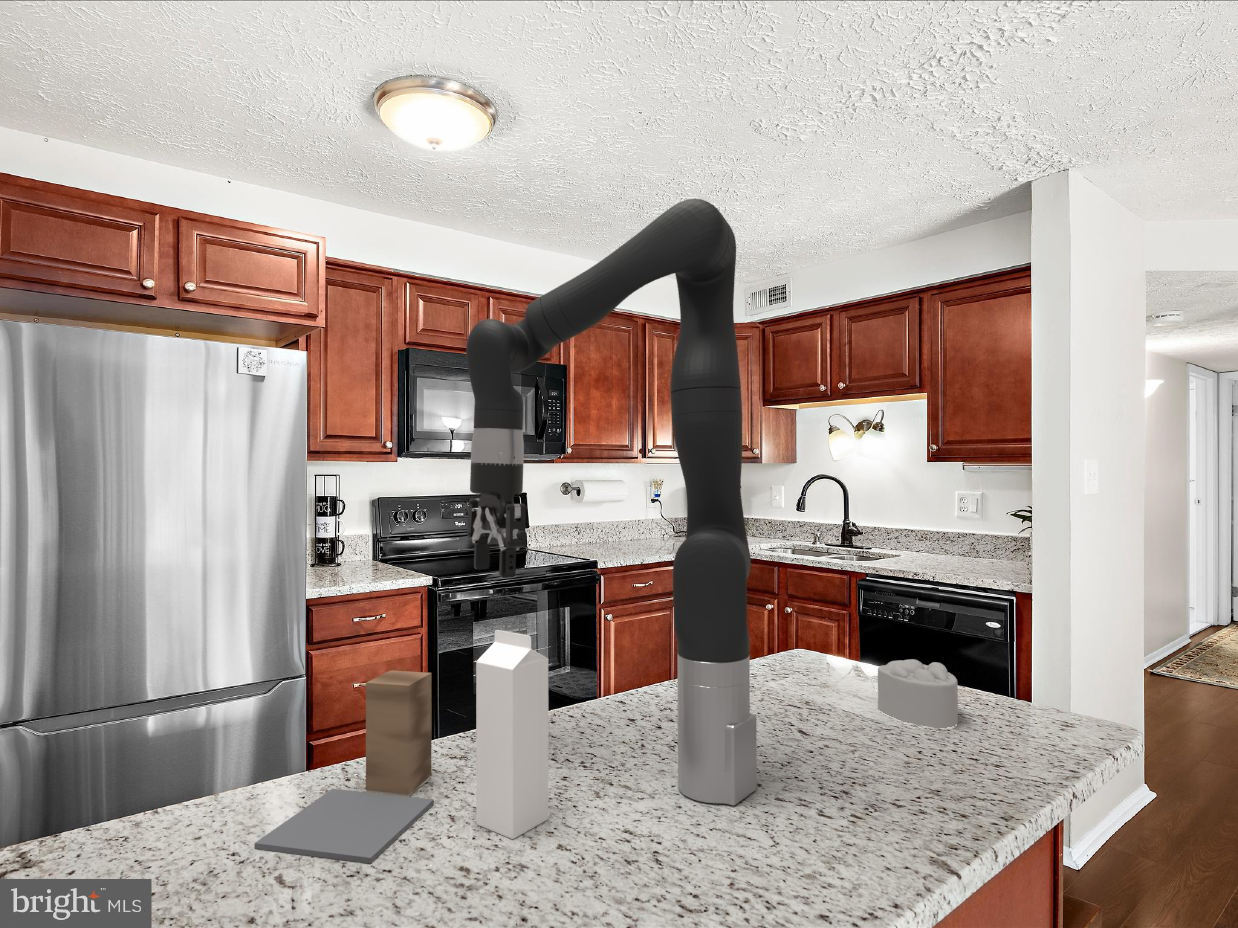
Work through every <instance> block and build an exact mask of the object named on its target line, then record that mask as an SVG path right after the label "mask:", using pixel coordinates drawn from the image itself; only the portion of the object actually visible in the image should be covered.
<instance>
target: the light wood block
mask: <svg viewBox="0 0 1238 928" xmlns="http://www.w3.org/2000/svg"><path fill="white" fill-rule="evenodd" d="M431 776H432V672H424V671H423V672H422V671H421V672H420V671H408V670H407V671H406V670H389V671H387V672H385V673H382V674H380V675H379V676H377V677H375V678H374V677H373V678H372V679H369V680H368V681H367V682H365V791H366V792H369V793H379V794H388V795H398V796H407V797H412V795H414V793H416V792H417V791H418V790H419V789H420V788H421V787H422V786H423V785H425V784H427V782H428V781H429V780H430V779H431Z"/></svg>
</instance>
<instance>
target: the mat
mask: <svg viewBox="0 0 1238 928" xmlns="http://www.w3.org/2000/svg"><path fill="white" fill-rule="evenodd" d="M434 804H435V799H434V798H427V797H426V798H424V797H415V796H410V797H407V796H398V795H388V794H379V793H369V792H367V791H358V790H348V789H341V788H340V789H339V788H332V789H330V790H329V791H327V792H326V793H325V794H322V796H320V797H319V798H317V799H316V800H314V801H313V802H311V803H310V804H309V805H307V806H306V807H304V808H303V809H301V810H299V812H297V813H295V814H294V815H293V816H291V817H290V818H289V819H287V820H286V821H284V822H283V823H281V824H280V825H279V826H276V828H274V829H273V830H271V831H270V832H268V833H267V834H266V835H264V836H263V837H261V838H260V839H258V840H257V841H255V842H254V845H253V846H254V849H255V850H262V851H263V850H264V851H270V852H277V853H278V852H279V853H284V854H285V853H286V854H294V855H300V856H309V857H317V858H323V859H324V858H325V859H331V860H338V861H339V860H340V861H347V862H356V863H361V864H362V863H363V864H372V863H373V862H374V861H375V860H376V859H378V857H379V856H380V855H382V854H383V852H385V851H386V850H387V849H388V848H389V847H390V846H391V845H392V844H393V843H394V842H395V841H396V840H398V838H400V837H401V836H402V835H403V834H404V833H405V832H406V831H407V830H408V829H409V828H410V827H411V826H412V825H413V824H415V823H416V822H417V821H418V820H419V819H420V818H421V817H423V815H424V814H425V813H427V811H428V810H429V809H430V808H432V807H433V806H434Z"/></svg>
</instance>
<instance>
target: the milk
mask: <svg viewBox="0 0 1238 928" xmlns="http://www.w3.org/2000/svg"><path fill="white" fill-rule="evenodd" d="M493 639H494V642H493V643H492V644H491V645H490V646H489V648H487V649H486V651H484V653H483V654H481V656H480V657H479V658H478V659H477V660H476V662H475V663H476V665H475V671H476V672H475V675H476V677H475V679H476V681H475V682H476V686H475V687H476V690H475V691H476V693H475V694H476V698H475V699H476V702H475V703H476V705H475V707H476V711H475V713H476V717H475V718H476V719H475V720H476V724H475V725H476V726H475V727H476V731H475V733H476V735H475V736H476V737H475V738H476V739H475V741H476V744H475V745H476V747H475V749H476V750H475V751H476V754H475V755H476V757H475V758H476V759H475V761H476V762H475V763H476V766H475V767H476V768H475V769H476V772H475V773H476V776H475V777H476V778H475V780H476V783H475V784H476V786H475V787H476V788H475V789H476V791H475V795H476V797H475V798H476V800H475V801H476V803H475V804H476V805H475V806H476V807H475V808H476V810H475V811H476V813H475V815H476V817H475V818H476V819H475V820H476V821H475V822H476V825H477V826H480V827H482V828H483V829H487V830H489V831H492V832H494V833H497V834H498V835H502V836H504V837H506V838H508V839H511V840H514V839H516V838H518V837H519V836H521V835H523V834H525V833H527V832H529V831H531V829H533V828H535V827H538V826H539V825H541V824H542V823H545V822H546V821H548V820H549V658H548V657H546V656H545V655H543V654H541V653H539V652H538V651H536V650H534V649H532V637H531V636H530V635H528V634H523V633H518V632H512V631H507V630H500V629H495V630H494V638H493Z"/></svg>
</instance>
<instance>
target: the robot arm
mask: <svg viewBox="0 0 1238 928" xmlns="http://www.w3.org/2000/svg"><path fill="white" fill-rule="evenodd" d="M733 231H734V230H733V228H732V227H731V226H730V224H729V222H728V220H726V218H725V217H724V215H723V214H722V213H721V211H720V210H719V209H718V208H717V207H716V206H715V205H714V204H712V203H711V202H709V201H707V200H704V199H701V198H687V199H684V200H682V201H679V202H677V203H676V204H674V205H673V206H671V207H670V208H668V209H666V210H665V211H664V212H662V213H661V214H660V215H658V217H656V218H655V219H654V220H652V221H651V222H650V223H649V224H648V225H646V226H645V227H643V229H641V230H640V231H639V232H637V234H635V235H634V236H632V237H631V238H630V239H629V240H627V241H626V242H624V243H623V244H622V245H621V246H619V247H618V248H617V249H615V250H614V251H612V252H611V253H610V254H608V255H607V256H606V257H604V258H603V259H601V260H599V261H598V262H597V263H595V264H594V265H593V266H591V267H589V268H588V269H586V270H585V271H583V272H581V273H579V274H578V275H576V276H574V277H573V278H571V279H570V280H568V281H566V282H563V283H562V284H559V285H558V286H557V287H555V288H553V289H552V290H550V291H548V292H546V293H544V294H543V295H540V296H538V297H537V298H535V299H534V300H533V301H532V302H530V303H529V304H528V306H527V307H526V309H525V315H524V316H525V317H524V318H522V319H521V320H520V321H517V322H516V323H513V324H509V323H506V322H503V321H501V320H498V319H495V318H485V319H482V320H480V321H478V322H477V323H476V324H474V325H473V327H472V328H471V330H470V332H469V334H468V337H467V341H466V347H465V349H466V350H465V351H466V352H465V353H466V363H467V369H468V370H467V371H468V375H469V379H470V386H471V389H472V393H473V397H474V405H473V406H474V409H473V410H474V411H473V414H474V415H473V434H472V437H471V438H472V439H471V445H470V446H471V447H470V450H471V451H470V473H469V474H470V476H469V477H470V479H469V489H470V490H469V491H470V492H471V493H472V494H476V495H479V497H478V498H469V500H468V512H467V513H468V514H467V515H468V516H467V528H466V529H467V531H466V533H467V534H466V535H467V538H468V539H471V542H472V544H474V549H473V551H474V553H473V554H474V555H473V568H474V569H475V570H487V569H489V568H490V563H491V562H490V561H491V560H490V559H491V558H490V556H491V539H492V537H494V538H495V539H496V540H497V542H498V546H499V549H500V550H499V563H498V565H499V567H498V570H499V571H498V576H499V577H500V578H503V579H505V578H506V579H507V578H514V577H515V576H516V572H517V571H516V570H517V569H516V568H517V551H519V550H520V548H525V546H526V530H527V529H526V521H527V519H526V511H527V509H526V504H524V503H515V502H514V496H515V495H516V496H518V495H521V494H522V492H523V488H524V487H523V485H524V461H525V460H524V455H525V443H524V435H523V433H524V431H523V429H524V399H523V395H522V394H521V393H520V392H519V390H517V389H516V388H515V386H514V383H513V378H512V374H517V373H520V372H522V371H525V370H526V369H529V368H530V367H533V365H535V364H536V363H537V362H539V361H540V360H542V359H543V358H544V357H545V356H546V355H547V354H548V353H550V352H551V351H552V350H553V349H555V347H557V346H559V344H562V343H564V342H566V341H568V340H570V339H572V338H573V337H577V335H580V334H582V333H583V332H585V331H587V330H589V329H591V328H592V327H593V326H596V325H597V324H599V323H600V322H601V321H602V320H604V319H605V318H607V316H608V315H610V314H611V313H612V312H613V311H614V310H615V309H616V308H617V307H618V306H619V305H620V304H622V302H624V301H625V300H626V299H627V298H628V297H630V296H631V295H632V294H634V293H635V292H636V291H638V290H640V289H642V288H643V287H644V286H646V285H648V284H650V283H653V282H654V281H656V280H660V279H663V278H664V277H665V278H666V277H667V276H670V275H673V274H675V278H676V279H675V280H676V284H677V285H676V287H677V292H678V293H677V295H678V301H679V302H678V303H679V311H680V313H679V315H680V324H679V330H678V331H679V333H678V338H677V343H676V347H675V351H674V354H673V355H674V357H673V361H672V366H671V375H670V389H669V390H670V409H671V410H670V411H671V412H670V413H671V423H672V424H671V425H672V433H673V439H674V444H675V448H676V453H677V457H678V461H679V465H680V468H681V469H680V470H681V472H682V475H683V480H684V485H685V492H686V514H687V515H686V536H685V540H684V541H683V542H682V543H681V544H680V546H679V547H678V548H677V550H676V553H675V555H674V559H673V565H672V598H673V599H672V601H673V604H672V605H673V607H672V608H673V609H672V610H673V628H674V633H675V634H674V635H675V637H676V642H677V650H676V652H677V657H676V658H677V661H676V662H677V679H676V680H677V789H678V791H679V792H680V793H681V794H682V795H683V796H686V798H689V799H691V800H695V801H697V802H703V803H708V804H725V805H730V806H736V805H737V804H738V803H740V802H741V801H743V800H744V799H745V798H747V797H748V796H749V795H751V794H752V793H753V792H755V791H756V790H757V789H758V781H757V780H758V779H757V778H758V777H757V775H758V774H757V771H758V769H757V768H758V767H757V765H758V762H757V759H758V758H757V757H758V756H757V755H758V754H757V753H758V751H757V715H756V714H755V713H751V707H750V706H751V703H750V702H751V696H750V695H751V693H750V692H751V691H750V689H751V688H750V687H751V686H750V685H751V684H750V681H751V680H750V677H751V676H750V675H751V673H750V672H751V671H750V668H751V666H750V665H751V664H750V654H751V651H750V648H751V647H750V641H751V640H750V634H749V627H748V591H747V590H748V589H747V588H748V584H747V583H748V578H749V576H750V573H751V568H752V567H751V566H752V560H751V559H752V558H751V557H752V556H751V553H750V548H749V542H748V536H747V531H746V530H747V529H746V523H745V517H744V516H745V515H744V510H743V509H744V507H743V501H742V489H741V487H742V484H741V481H742V464H743V404H742V384H741V374H740V361H739V352H738V342H737V335H736V334H737V333H736V328H735V319H734V318H735V317H734V299H735V296H734V295H735V293H734V292H735V279H736V278H735V276H736V262H737V261H736V260H737V242H736V237H735V233H734V232H733Z"/></svg>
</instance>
